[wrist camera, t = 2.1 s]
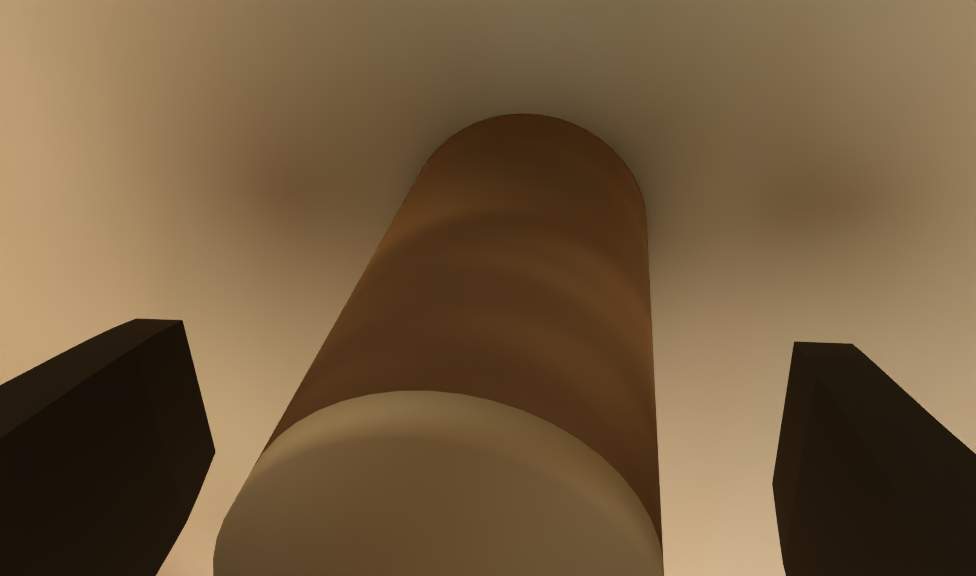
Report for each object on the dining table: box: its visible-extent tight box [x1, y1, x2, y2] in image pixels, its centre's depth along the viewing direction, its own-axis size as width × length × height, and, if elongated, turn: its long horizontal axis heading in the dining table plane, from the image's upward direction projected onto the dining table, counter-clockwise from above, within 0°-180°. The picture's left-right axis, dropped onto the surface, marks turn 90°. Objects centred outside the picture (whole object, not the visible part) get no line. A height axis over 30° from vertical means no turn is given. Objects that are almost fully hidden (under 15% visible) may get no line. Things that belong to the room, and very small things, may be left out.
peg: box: [213, 114, 664, 576], centre depth 11 cm, size 4×4×8 cm
